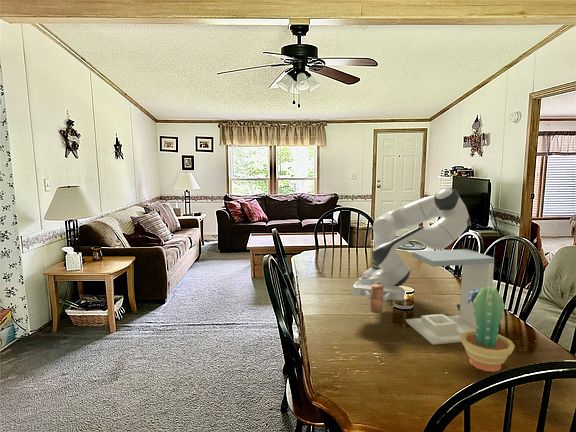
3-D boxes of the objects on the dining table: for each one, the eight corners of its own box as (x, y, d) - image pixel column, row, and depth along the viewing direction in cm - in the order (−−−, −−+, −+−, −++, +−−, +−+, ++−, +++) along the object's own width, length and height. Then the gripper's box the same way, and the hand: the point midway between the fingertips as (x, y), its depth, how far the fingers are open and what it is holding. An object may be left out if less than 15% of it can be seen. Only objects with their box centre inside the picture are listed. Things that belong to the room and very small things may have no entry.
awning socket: (405, 321, 151) (408, 249, 147) (459, 317, 155) (463, 247, 151) (432, 344, 132) (436, 262, 128) (492, 339, 135) (498, 259, 132)
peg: (367, 310, 145) (369, 285, 143) (376, 307, 147) (377, 283, 146) (376, 314, 141) (377, 288, 140) (384, 311, 143) (385, 286, 142)
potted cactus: (494, 351, 126) (499, 280, 123) (524, 376, 111) (531, 296, 108) (450, 352, 126) (453, 281, 123) (474, 378, 111) (479, 297, 107)
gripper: (404, 297, 153) (404, 309, 140) (354, 291, 159) (350, 302, 146) (405, 282, 152) (405, 293, 139) (355, 277, 158) (350, 287, 145)
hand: (376, 297), depth 142 cm, fingers closed on peg, 4 cm apart
